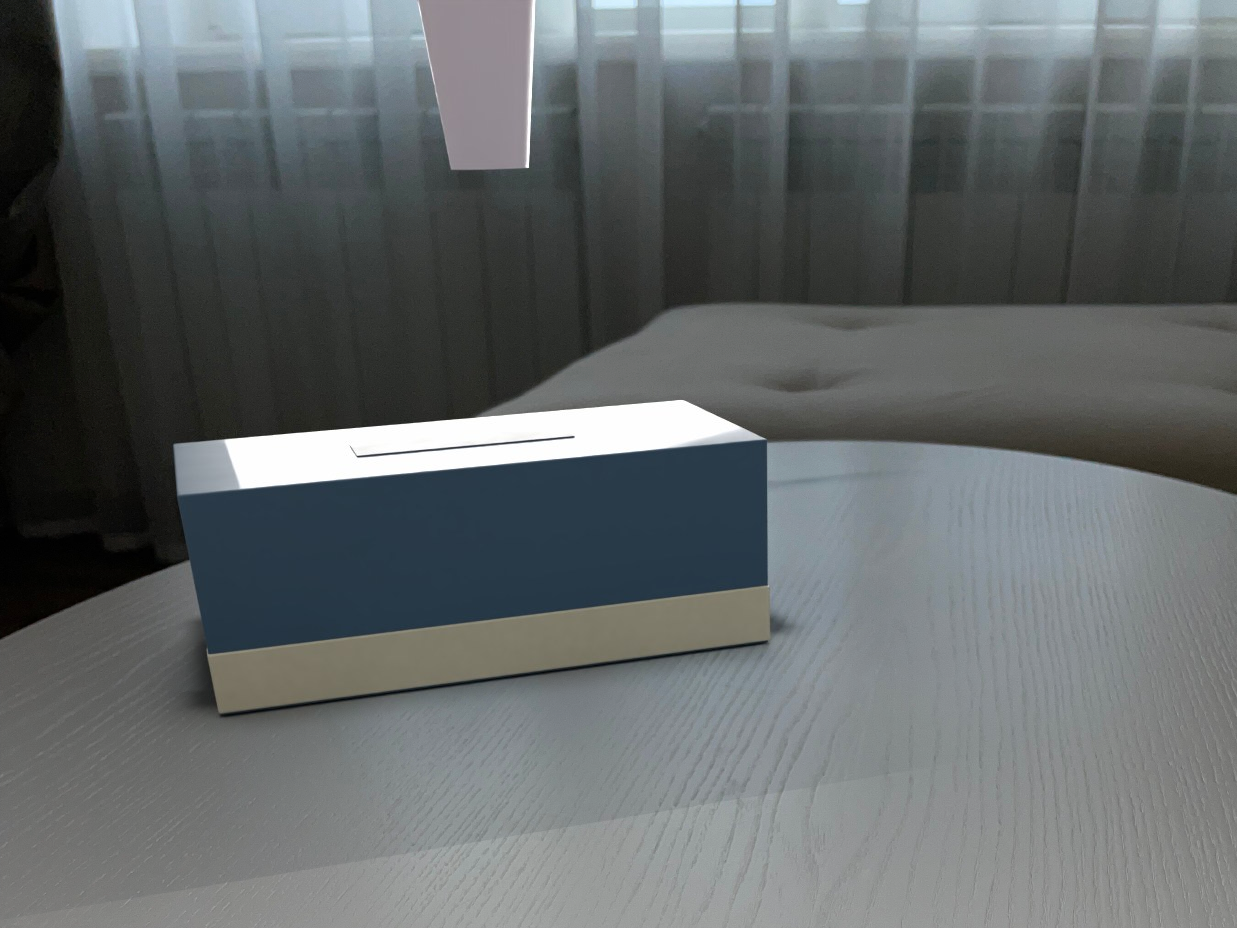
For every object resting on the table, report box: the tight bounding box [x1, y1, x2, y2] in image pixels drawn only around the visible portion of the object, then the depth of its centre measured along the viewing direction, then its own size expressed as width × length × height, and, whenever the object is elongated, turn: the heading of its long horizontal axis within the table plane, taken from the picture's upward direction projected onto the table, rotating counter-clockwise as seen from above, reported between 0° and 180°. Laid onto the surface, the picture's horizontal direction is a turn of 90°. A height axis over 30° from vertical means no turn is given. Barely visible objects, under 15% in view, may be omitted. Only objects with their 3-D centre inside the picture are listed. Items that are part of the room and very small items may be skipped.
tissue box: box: [172, 399, 771, 716], centre depth 62 cm, size 23×11×8 cm, turn 108°
